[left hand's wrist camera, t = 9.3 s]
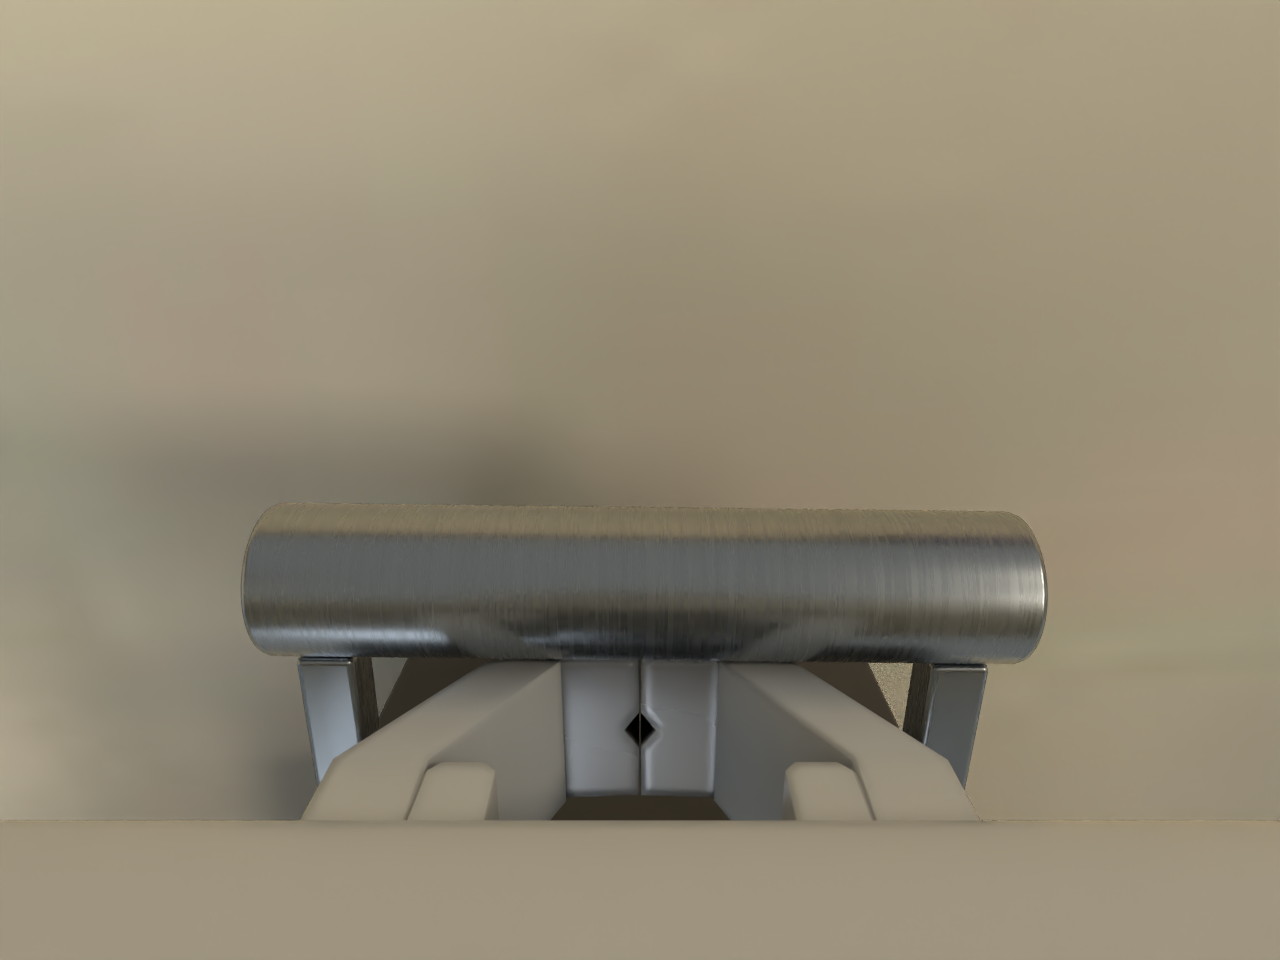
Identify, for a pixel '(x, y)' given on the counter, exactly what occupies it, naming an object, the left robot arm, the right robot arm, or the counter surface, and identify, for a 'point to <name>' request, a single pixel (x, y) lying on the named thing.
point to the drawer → (641, 605)
